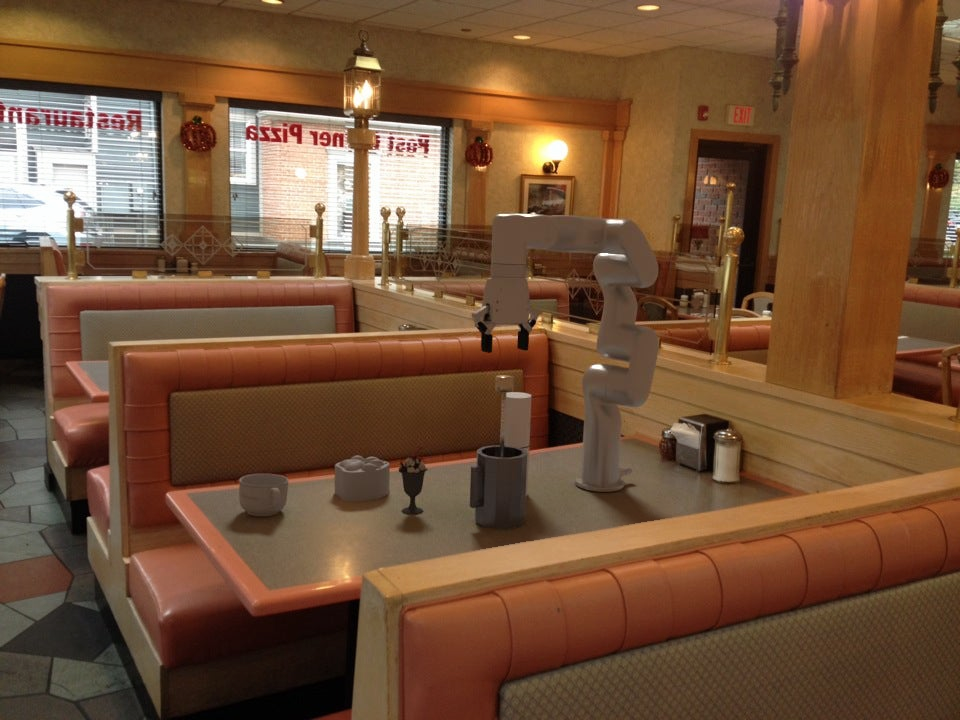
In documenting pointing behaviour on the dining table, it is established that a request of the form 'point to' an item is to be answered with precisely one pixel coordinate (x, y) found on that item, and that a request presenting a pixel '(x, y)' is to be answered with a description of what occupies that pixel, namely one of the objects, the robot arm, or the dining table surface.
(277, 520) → the dining table surface
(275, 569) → the dining table surface
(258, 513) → the teacup
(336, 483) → the lumpy-topped squat cylinder
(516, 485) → the press carafe
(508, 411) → the cylindrical container
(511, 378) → the plunger
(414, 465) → the sundae
